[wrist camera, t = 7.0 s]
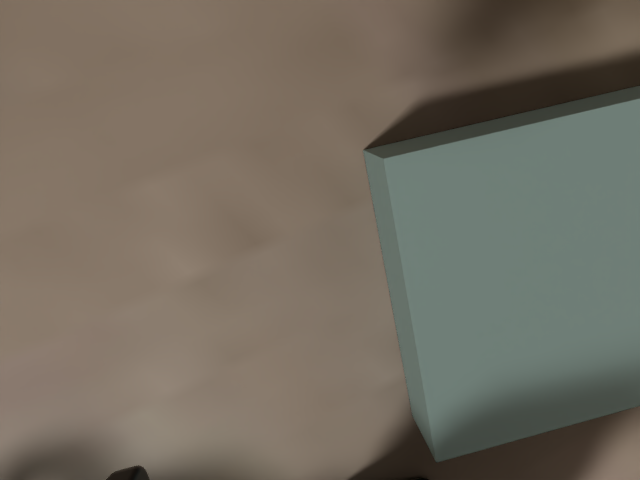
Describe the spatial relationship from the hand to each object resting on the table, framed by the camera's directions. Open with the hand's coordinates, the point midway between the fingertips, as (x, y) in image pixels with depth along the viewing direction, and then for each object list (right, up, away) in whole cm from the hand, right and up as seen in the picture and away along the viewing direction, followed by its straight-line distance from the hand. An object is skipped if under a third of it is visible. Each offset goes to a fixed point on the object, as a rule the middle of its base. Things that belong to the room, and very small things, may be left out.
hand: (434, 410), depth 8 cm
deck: (+12, +3, +13) cm, 18 cm away
